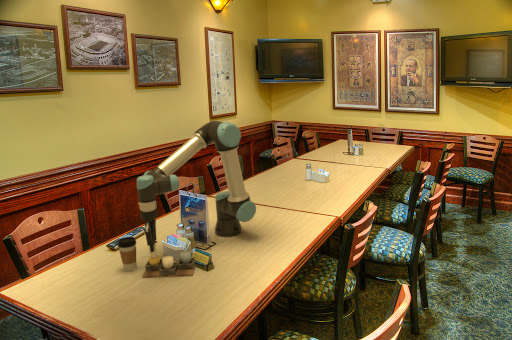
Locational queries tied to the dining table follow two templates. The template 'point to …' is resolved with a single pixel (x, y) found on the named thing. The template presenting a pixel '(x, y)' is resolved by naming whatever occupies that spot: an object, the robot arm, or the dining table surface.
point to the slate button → (185, 257)
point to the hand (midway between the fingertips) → (153, 257)
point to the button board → (175, 271)
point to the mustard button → (154, 261)
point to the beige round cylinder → (168, 262)
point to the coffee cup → (128, 253)
